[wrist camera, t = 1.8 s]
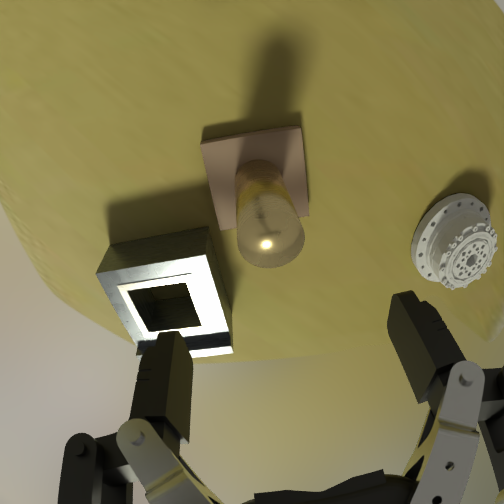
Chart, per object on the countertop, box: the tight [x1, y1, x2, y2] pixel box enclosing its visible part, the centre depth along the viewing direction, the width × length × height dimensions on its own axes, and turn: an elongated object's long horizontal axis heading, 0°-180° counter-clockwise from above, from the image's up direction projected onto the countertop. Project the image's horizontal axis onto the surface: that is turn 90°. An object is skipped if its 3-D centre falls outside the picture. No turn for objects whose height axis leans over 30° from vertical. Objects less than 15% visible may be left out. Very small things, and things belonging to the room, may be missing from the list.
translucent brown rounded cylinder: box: [235, 159, 305, 268], centre depth 19 cm, size 3×3×8 cm
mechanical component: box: [411, 193, 497, 290], centre depth 26 cm, size 10×4×10 cm
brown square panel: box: [200, 125, 309, 231], centre depth 23 cm, size 7×7×1 cm
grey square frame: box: [96, 227, 233, 361], centre depth 27 cm, size 10×9×5 cm
